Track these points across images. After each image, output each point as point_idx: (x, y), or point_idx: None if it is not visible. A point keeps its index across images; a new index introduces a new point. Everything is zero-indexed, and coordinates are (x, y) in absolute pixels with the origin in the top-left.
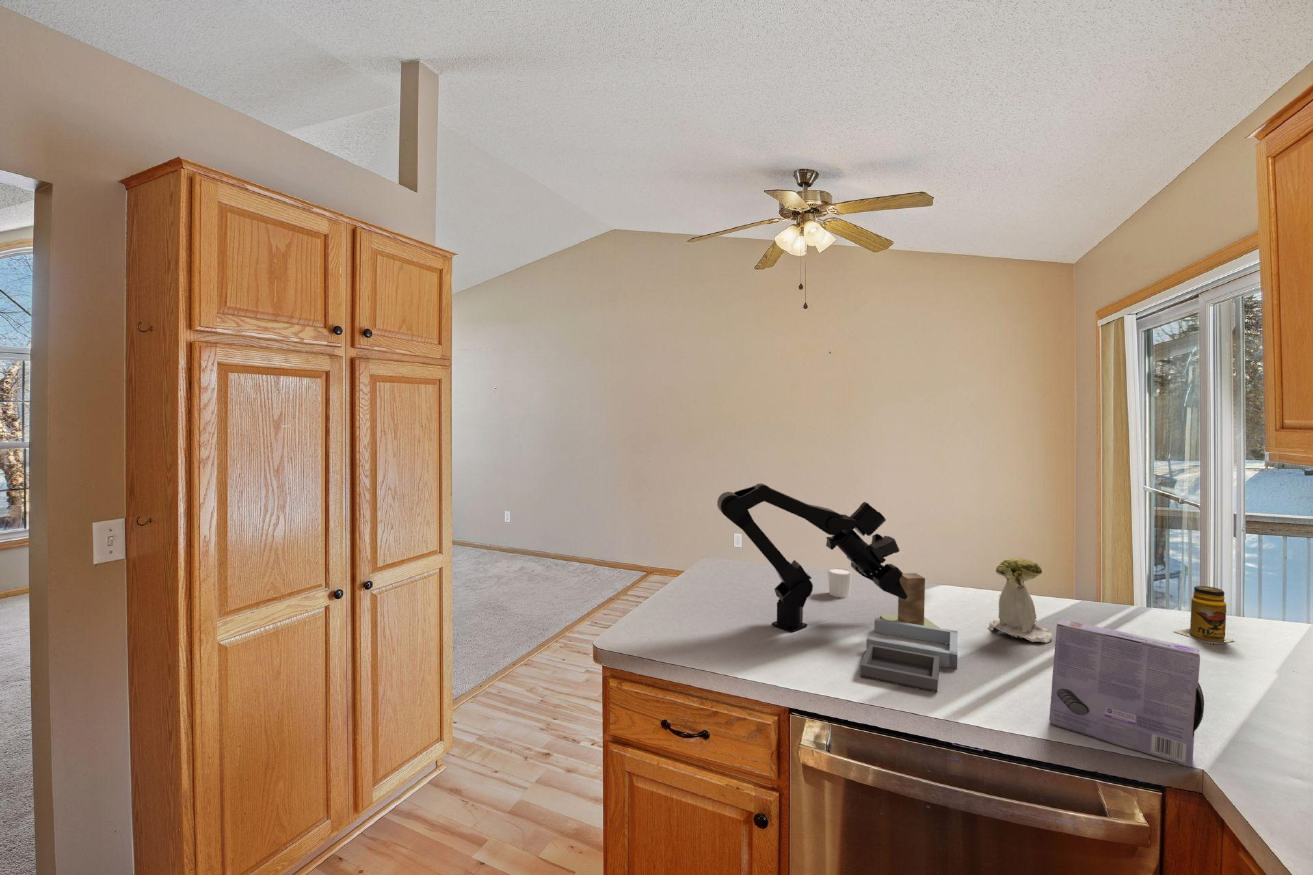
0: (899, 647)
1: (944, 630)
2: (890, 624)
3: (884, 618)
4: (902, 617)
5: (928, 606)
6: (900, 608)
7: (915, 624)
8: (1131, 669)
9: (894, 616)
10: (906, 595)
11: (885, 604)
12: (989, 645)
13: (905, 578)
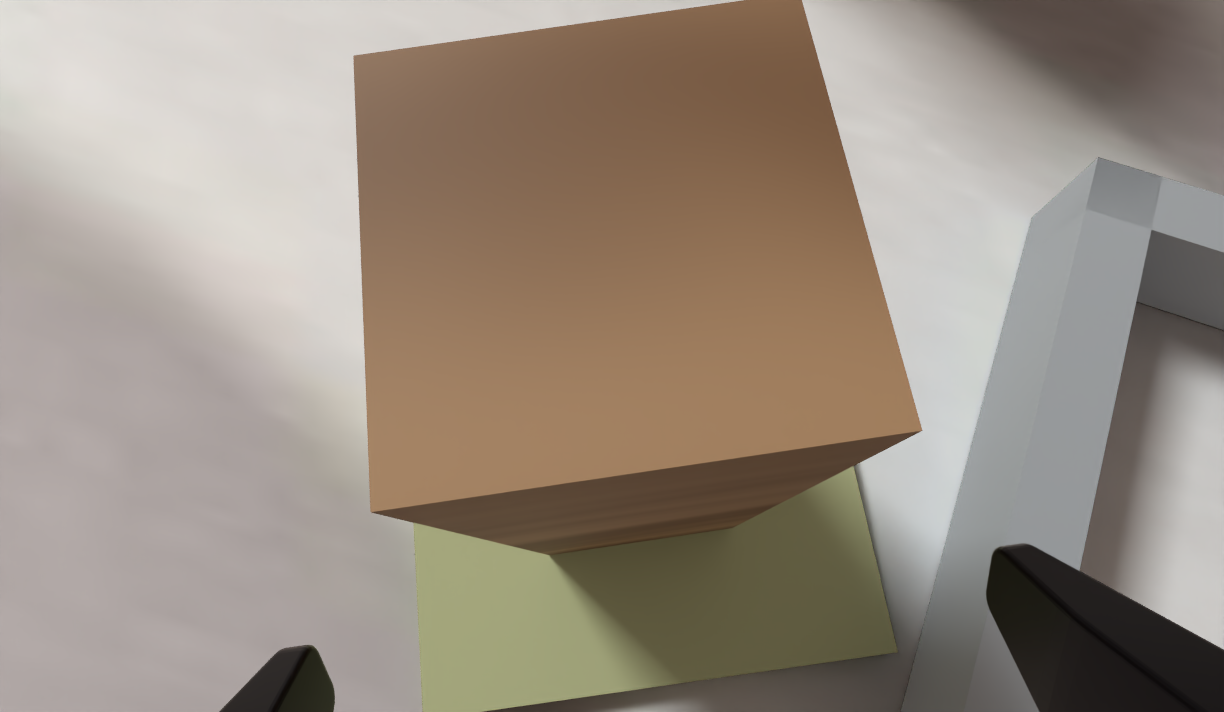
0: None
1: (1123, 268)
2: None
3: (527, 700)
4: (648, 537)
5: (145, 144)
6: (591, 540)
7: (1022, 508)
8: None
9: (458, 562)
10: (1060, 569)
11: (40, 523)
12: (1000, 18)
13: (802, 454)
